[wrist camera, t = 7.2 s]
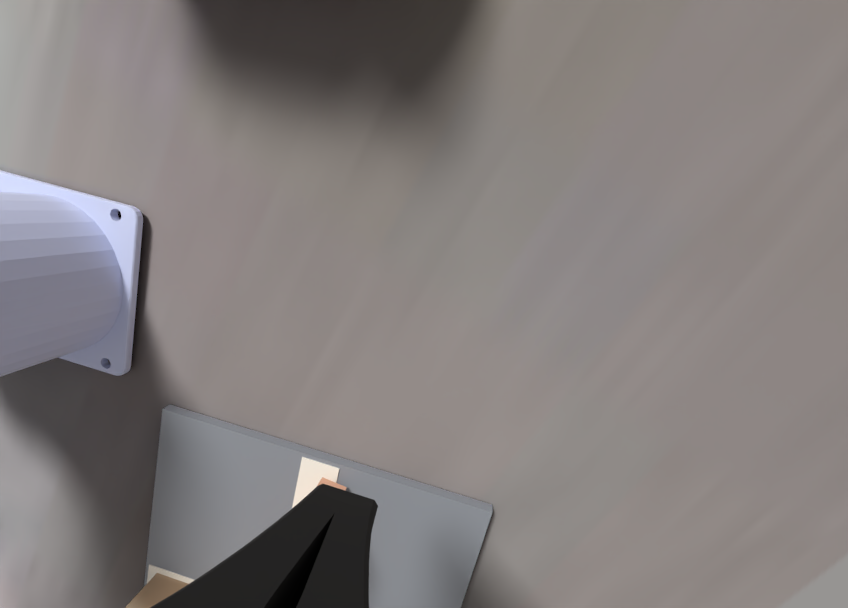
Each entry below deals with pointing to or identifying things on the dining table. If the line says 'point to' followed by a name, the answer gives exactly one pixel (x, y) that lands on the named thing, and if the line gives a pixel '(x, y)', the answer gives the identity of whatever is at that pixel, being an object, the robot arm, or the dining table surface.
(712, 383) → the dining table surface
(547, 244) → the dining table surface
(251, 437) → the card
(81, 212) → the robot arm
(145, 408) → the dining table surface
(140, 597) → the fence fixed
